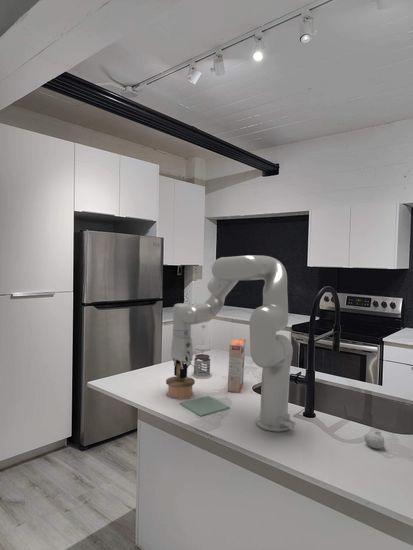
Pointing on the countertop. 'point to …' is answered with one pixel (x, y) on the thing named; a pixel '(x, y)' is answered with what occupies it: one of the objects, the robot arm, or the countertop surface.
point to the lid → (179, 379)
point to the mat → (204, 406)
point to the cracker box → (236, 365)
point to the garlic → (374, 440)
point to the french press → (202, 362)
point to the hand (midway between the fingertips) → (180, 376)
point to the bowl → (179, 392)
